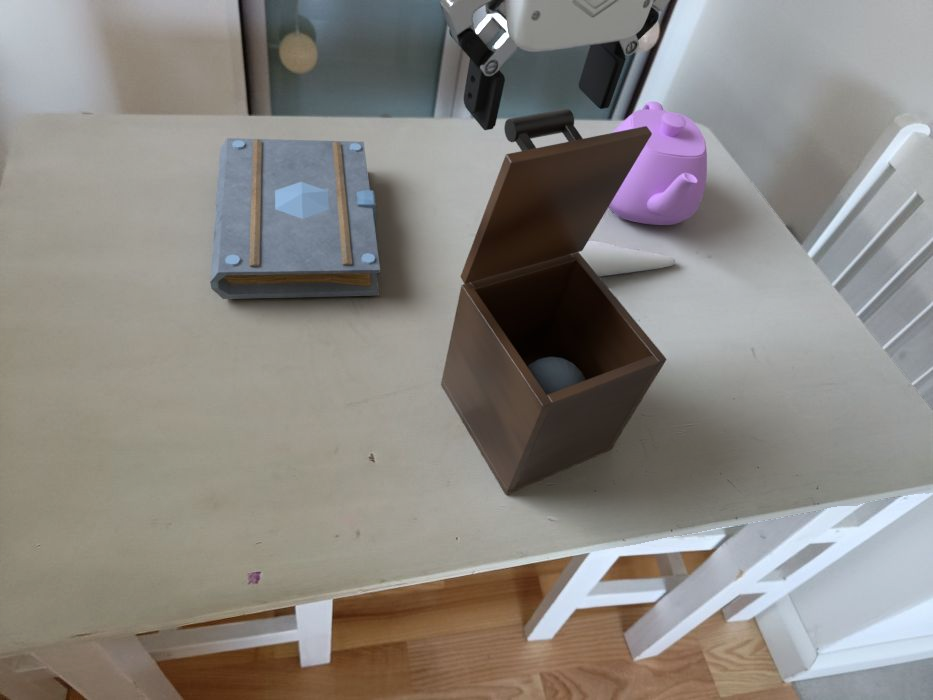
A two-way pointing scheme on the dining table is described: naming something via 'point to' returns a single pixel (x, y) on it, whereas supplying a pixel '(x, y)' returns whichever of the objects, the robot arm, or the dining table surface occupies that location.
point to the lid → (549, 193)
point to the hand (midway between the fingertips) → (537, 107)
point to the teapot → (663, 169)
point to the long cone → (621, 259)
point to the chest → (539, 336)
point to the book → (294, 220)
